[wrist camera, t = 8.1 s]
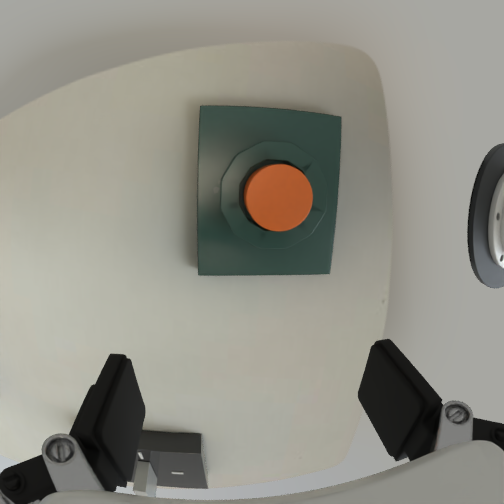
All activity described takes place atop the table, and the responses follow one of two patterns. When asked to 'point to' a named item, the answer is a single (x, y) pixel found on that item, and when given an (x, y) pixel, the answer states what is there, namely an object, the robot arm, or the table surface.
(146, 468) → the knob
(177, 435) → the lever switch base
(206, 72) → the table surface
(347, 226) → the table surface
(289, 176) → the button
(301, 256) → the control block
